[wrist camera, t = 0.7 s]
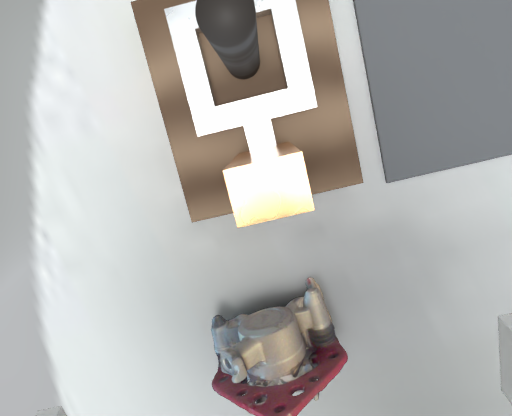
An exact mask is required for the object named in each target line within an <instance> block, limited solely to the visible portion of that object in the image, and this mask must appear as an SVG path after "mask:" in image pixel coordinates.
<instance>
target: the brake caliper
mask: <svg viewBox="0 0 512 416" xmlns="http://www.w3.org/2000/svg"><path fill="white" fill-rule="evenodd" d="M306 286H307V289H308V290H307V291H306V292H305V296H304V297H297V298H295V299H293V300H291V301H290V302H289V303H288V304H287V305H286V306H285V307H271V308H266V309H262V310H260V311H257V312H254V313H252V314H250V315H246V314H240V315H238V316H236V317H235V318H234V319H231V320H228V321H227V320H225V319H224V318H223V317H222V316H220V315H216V316H215V317H214V318H213V319H212V328H211V331H212V335H213V338H214V347H215V352H216V354H217V356H218V360H219V366H218V372H217V373H216V375H215V377H214V379H213V381H212V387H213V390H214V391H216V392H217V393H218V394H219V395H221V396H223V397H225V398H226V399H228V400H230V401H231V402H233V403H235V404H236V405H238V406H239V407H241V408H243V409H245V410H247V411H248V412H249V413H251V414H254V415H255V416H297V415H298V414H299V412H300V411H301V410H302V409H303V408H304V407H305V406H306V405H307V404H308V403H309V402H310V400H311V399H313V398H314V400H315V401H317V400H318V398H319V392H320V391H322V390H323V389H324V388H325V387H326V386H327V384H328V383H329V382H330V381H331V380H332V379H333V378H334V377H335V376H336V375H337V374H338V373H339V372H340V370H341V369H342V367H343V365H344V364H345V363H346V362H347V359H348V356H347V353H346V351H345V350H344V349H343V347H342V346H341V345H340V344H339V341H338V339H337V337H336V335H335V330H334V326H333V324H332V320H331V316H330V315H329V312H328V310H327V308H326V305H325V302H324V298H323V294H322V292H321V289H320V287H319V285H318V284H317V283H316V282H315V280H314V279H313V278H311V277H310V278H308V279H307V280H306ZM249 379H250V381H249V382H248V383H247V381H248V380H249ZM316 379H318V380H316ZM294 392H303V393H301V394H300V395H297V396H292V394H293V393H294ZM244 394H245V395H244ZM242 395H243V396H242ZM255 402H256V403H255Z"/></svg>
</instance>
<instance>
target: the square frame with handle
mask: <svg viewBox="0 0 512 416" xmlns="http://www.w3.org/2000/svg"><path fill="white" fill-rule="evenodd" d="M196 2H197V0H196V1H192V2H188V3H185V4H181V5H177V6H174V7H170V8H166V9H164V11H165V15H166V18H167V22H168V26H169V30H170V33H171V37H172V41H173V45H174V49H175V52H176V56H177V60H178V64H179V67H180V71H181V75H182V79H183V83H184V86H185V90H186V94H187V98H188V102H189V105H190V109H191V113H192V117H193V120H194V124H195V128H196V132H197V136H202V135H206V134H210V133H214V132H218V131H222V130H227V129H231V128H235V127H239V126H243V125H244V128H245V133H246V137H247V141H248V145H249V149H250V151H247V152H243V153H239V154H237V156H236V157H235V158H234V159H233V160H232V161H231V162H230V163H229V164H228V165H227V166H226V168H225V169H224V170H223V173H224V177H225V181H226V185H227V189H228V193H229V197H230V201H231V205H232V208H233V212H234V216H235V220H236V224H237V228H239V227H244V226H248V225H252V224H257V223H261V222H266V221H270V220H274V219H279V218H283V217H287V216H292V215H296V214H300V213H305V212H309V211H314V210H315V209H314V204H313V199H312V195H311V190H310V186H309V181H308V176H307V172H306V167H305V163H304V158H303V153H302V151H301V150H299V149H298V148H297V147H295V146H294V145H293V144H291V143H290V142H289V141H288V142H284V143H280V144H276V141H275V137H274V133H273V128H272V124H271V120H270V119H271V118H275V117H279V116H283V115H287V114H291V113H296V112H300V111H304V110H308V109H312V108H316V107H317V103H316V98H315V93H314V88H313V83H312V78H311V74H310V69H309V64H308V59H307V54H306V49H305V44H304V40H303V35H302V30H301V25H300V20H299V15H298V11H297V6H296V1H295V0H254V3H255V9H256V18H258V17H262V16H266V15H269V14H271V18H272V22H273V27H274V31H275V36H276V40H277V45H278V50H279V54H280V59H281V63H282V68H283V73H284V77H285V82H286V86H287V89H284V90H280V91H276V92H272V93H268V94H264V95H260V96H256V97H252V98H248V99H244V100H240V101H236V102H232V103H228V104H224V105H220V106H216V102H215V98H214V94H213V90H212V86H211V82H210V78H209V74H208V70H207V66H206V62H205V58H204V54H203V50H202V46H201V43H200V39H199V35H198V33H201V32H202V31H201V29H200V28H199V26H198V24H197V20H196V16H195V7H196Z"/></svg>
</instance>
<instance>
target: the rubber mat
mask: <svg viewBox="0 0 512 416" xmlns="http://www.w3.org/2000/svg"><path fill="white" fill-rule="evenodd" d="M353 2H354V7H355V13H356V18H357V24H358V29H359V35H360V40H361V46H362V51H363V57H364V63H365V68H366V74H367V79H368V85H369V90H370V96H371V101H372V107H373V112H374V118H375V123H376V129H377V134H378V140H379V146H380V151H381V157H382V162H383V168H384V173H385V179H386V183H390V182H394V181H399V180H403V179H407V178H412V177H416V176H420V175H425V174H429V173H433V172H438V171H442V170H446V169H451V168H455V167H459V166H464V165H468V164H472V163H477V162H481V161H485V160H490V159H494V158H498V157H503V156H507V155H511V154H512V0H353Z"/></svg>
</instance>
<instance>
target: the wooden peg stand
mask: <svg viewBox="0 0 512 416" xmlns="http://www.w3.org/2000/svg"><path fill="white" fill-rule="evenodd" d="M192 1H196V0H136V1H133V2H131V5H132V9H133V13H134V16H135V20H136V23H137V27H138V31H139V34H140V38H141V41H142V45H143V48H144V52H145V56H146V59H147V63H148V66H149V70H150V74H151V77H152V81H153V84H154V88H155V92H156V95H157V99H158V102H159V106H160V110H161V113H162V117H163V120H164V124H165V127H166V131H167V135H168V138H169V142H170V145H171V149H172V153H173V156H174V160H175V163H176V167H177V171H178V174H179V178H180V181H181V185H182V189H183V192H184V196H185V199H186V203H187V206H188V210H189V214H190V217H191V221H192V222H196V221H201V220H205V219H209V218H213V217H218V216H222V215H226V214H231V213H234V212H233V208H232V205H231V201H230V197H229V193H228V189H227V185H226V181H225V177H224V173H223V170H224V169H225V168H226V166H227V165H228V164H229V163H230V162H231V161H232V160H233V159H234V158H235V157H236V156H237V154H239V153H243V152H247V151H250V149H249V145H248V141H247V137H246V133H245V128H244V125H243V126H239V127H235V128H231V129H227V130H222V131H218V132H214V133H210V134H206V135H202V136H197V132H196V128H195V124H194V120H193V117H192V113H191V109H190V105H189V102H188V98H187V94H186V90H185V86H184V83H183V79H182V75H181V71H180V67H179V64H178V60H177V56H176V52H175V49H174V45H173V41H172V37H171V33H170V30H169V26H168V22H167V18H166V15H165V11H164V9H166V8H170V7H174V6H177V5H181V4H185V3H188V2H192ZM295 1H296V6H297V11H298V15H299V20H300V25H301V30H302V35H303V40H304V44H305V49H306V54H307V59H308V64H309V69H310V74H311V78H312V83H313V88H314V93H315V98H316V103H317V107H316V108H312V109H308V110H304V111H300V112H296V113H291V114H287V115H283V116H279V117H275V118H271V119H270V120H271V124H272V128H273V133H274V137H275V141H276V144H280V143H284V142H288V141H289V142H290V143H291V144H293V145H294V146H295V147H297V148H298V149H299V150H301V151H302V153H303V158H304V163H305V167H306V172H307V176H308V181H309V186H310V190H311V195H313V194H317V193H321V192H326V191H330V190H334V189H339V188H343V187H347V186H351V185H356V184H360V183H363V179H362V173H361V168H360V163H359V158H358V152H357V147H356V142H355V137H354V132H353V126H352V121H351V116H350V111H349V105H348V100H347V95H346V90H345V85H344V79H343V74H342V69H341V64H340V58H339V53H338V48H337V43H336V38H335V32H334V27H333V22H332V17H331V12H330V6H329V1H328V0H295ZM195 16H196V20H197V24H198V26H199V28H200V29H201V31H202V32H201V33H198V35H199V39H200V43H201V46H202V50H203V54H204V58H205V62H206V66H207V70H208V74H209V78H210V82H211V86H212V90H213V94H214V98H215V102H216V106H220V105H224V104H228V103H232V102H236V101H240V100H244V99H248V98H252V97H256V96H260V95H264V94H268V93H272V92H276V91H280V90H284V89H287V86H286V82H285V77H284V73H283V68H282V63H281V59H280V54H279V50H278V45H277V40H276V36H275V31H274V27H273V22H272V18H271V14H269V15H266V16H262V17H258V18H256V9H255V3H254V0H197V2H196V7H195Z"/></svg>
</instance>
